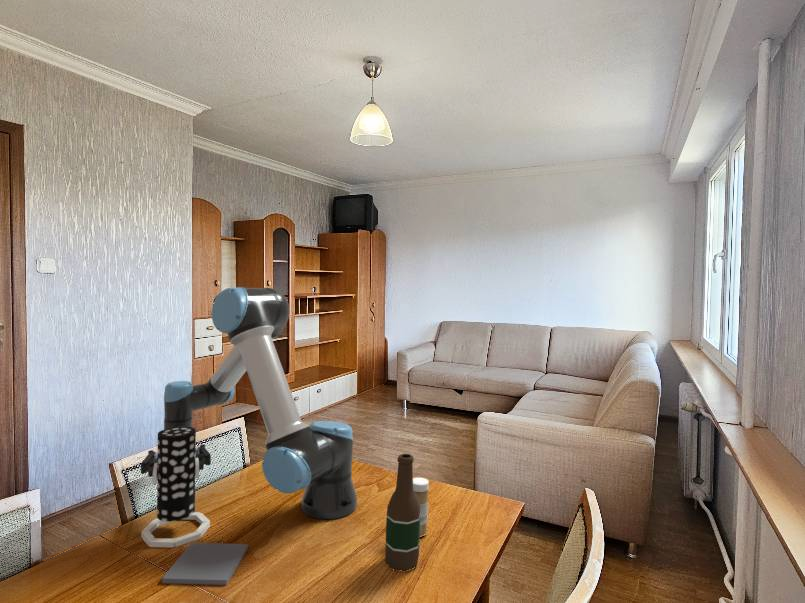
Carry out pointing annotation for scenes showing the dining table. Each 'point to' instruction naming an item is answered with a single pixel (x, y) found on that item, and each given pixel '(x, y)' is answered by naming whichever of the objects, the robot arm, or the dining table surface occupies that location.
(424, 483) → the sprinkles bottle
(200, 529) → the coaster ring
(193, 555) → the mat
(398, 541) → the beer bottle
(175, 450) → the white-spotted black cylinder
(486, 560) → the dining table surface
